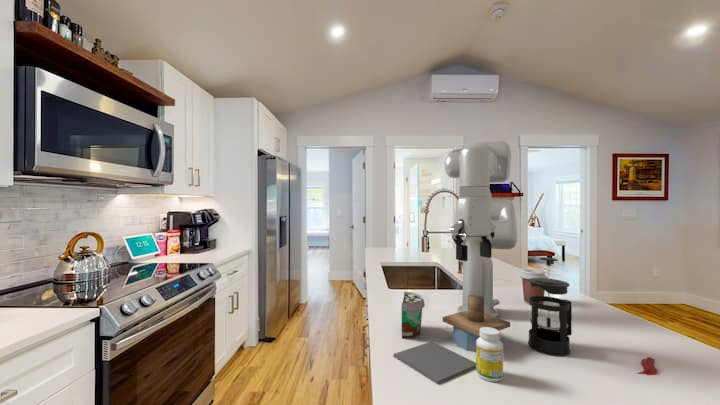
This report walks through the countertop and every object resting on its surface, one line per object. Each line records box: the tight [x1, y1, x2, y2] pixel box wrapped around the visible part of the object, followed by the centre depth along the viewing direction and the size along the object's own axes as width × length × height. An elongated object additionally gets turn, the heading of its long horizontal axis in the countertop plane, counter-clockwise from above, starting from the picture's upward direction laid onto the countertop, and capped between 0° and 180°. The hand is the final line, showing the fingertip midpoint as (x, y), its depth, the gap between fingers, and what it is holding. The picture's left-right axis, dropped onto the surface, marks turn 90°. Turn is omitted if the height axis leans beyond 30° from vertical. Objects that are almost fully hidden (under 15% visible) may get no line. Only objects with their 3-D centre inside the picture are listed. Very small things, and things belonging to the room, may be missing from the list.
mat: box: [393, 341, 476, 385], centre depth 73 cm, size 13×14×1 cm
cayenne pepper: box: [637, 356, 658, 376], centre depth 71 cm, size 12×5×2 cm, turn 115°
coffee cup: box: [519, 268, 548, 306], centre depth 118 cm, size 9×9×12 cm
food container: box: [401, 291, 426, 340], centre depth 90 cm, size 12×6×10 cm, turn 168°
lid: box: [442, 295, 511, 336], centre depth 83 cm, size 12×12×7 cm
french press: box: [527, 256, 573, 357], centre depth 81 cm, size 12×9×23 cm
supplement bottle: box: [475, 327, 504, 383], centre depth 67 cm, size 5×5×10 cm
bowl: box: [452, 325, 480, 353], centre depth 83 cm, size 11×11×5 cm
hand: (474, 258), depth 83 cm, fingers open, 9 cm apart
